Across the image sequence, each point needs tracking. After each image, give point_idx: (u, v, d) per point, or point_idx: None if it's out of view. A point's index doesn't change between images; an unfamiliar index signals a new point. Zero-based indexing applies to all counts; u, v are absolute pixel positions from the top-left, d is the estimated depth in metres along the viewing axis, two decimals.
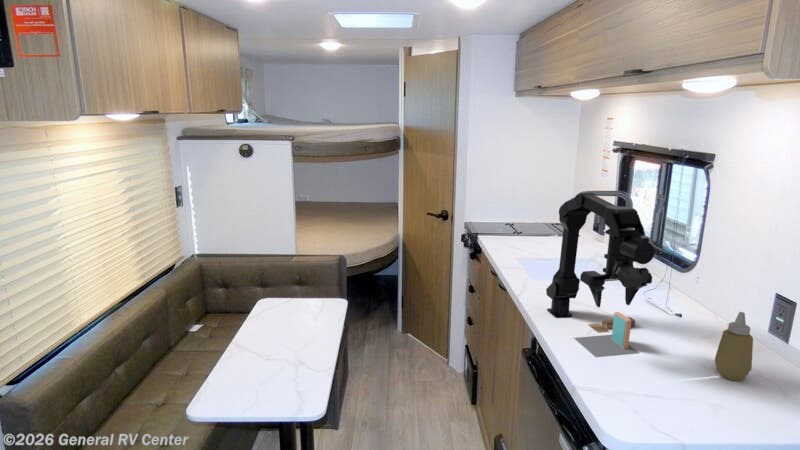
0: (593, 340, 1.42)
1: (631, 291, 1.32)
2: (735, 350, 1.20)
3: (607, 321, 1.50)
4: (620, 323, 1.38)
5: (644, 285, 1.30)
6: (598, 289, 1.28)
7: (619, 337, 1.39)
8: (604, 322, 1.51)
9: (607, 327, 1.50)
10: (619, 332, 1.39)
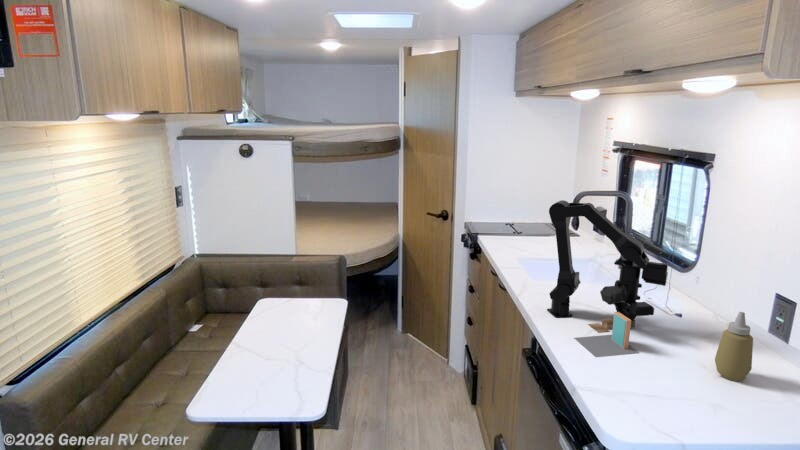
0: (593, 340, 1.42)
1: None
2: (735, 350, 1.20)
3: (607, 321, 1.50)
4: (620, 323, 1.38)
5: (625, 310, 1.47)
6: None
7: (619, 337, 1.39)
8: (604, 322, 1.51)
9: (607, 327, 1.50)
10: (619, 332, 1.39)
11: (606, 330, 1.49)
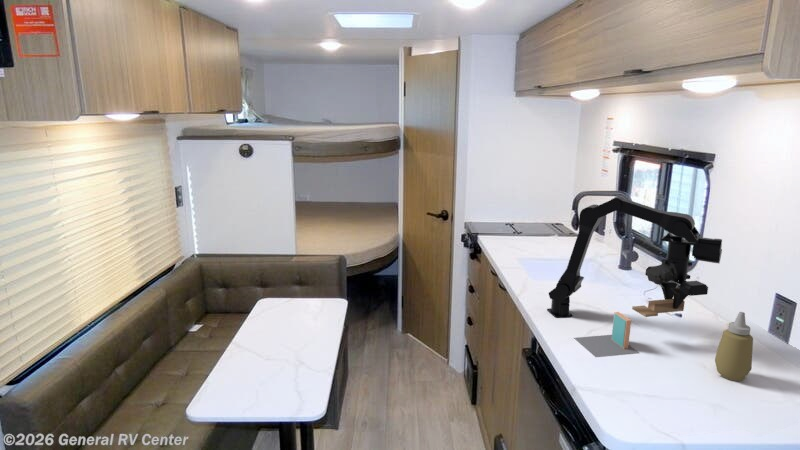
0: (593, 340, 1.42)
1: None
2: (735, 350, 1.20)
3: (654, 302, 1.39)
4: (620, 323, 1.38)
5: (674, 290, 1.35)
6: None
7: (619, 337, 1.39)
8: (651, 303, 1.39)
9: (655, 309, 1.38)
10: (619, 332, 1.39)
11: (654, 312, 1.37)
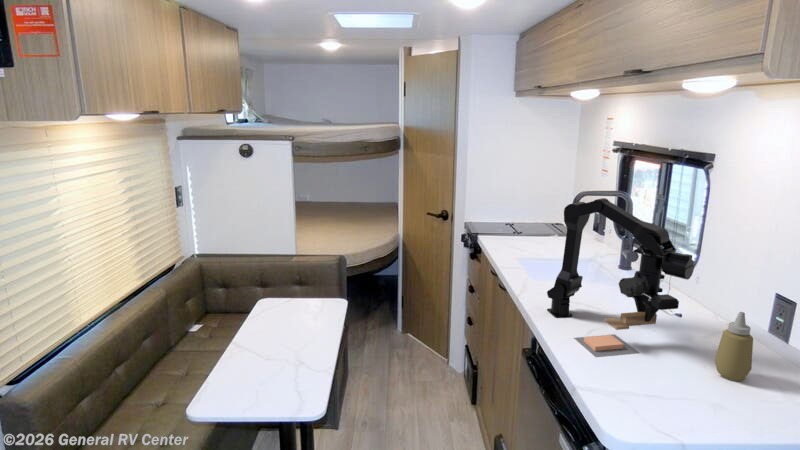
0: None
1: None
2: (735, 350, 1.20)
3: (626, 315, 1.38)
4: None
5: (646, 303, 1.34)
6: None
7: None
8: (623, 316, 1.39)
9: (626, 321, 1.38)
10: None
11: (625, 325, 1.36)
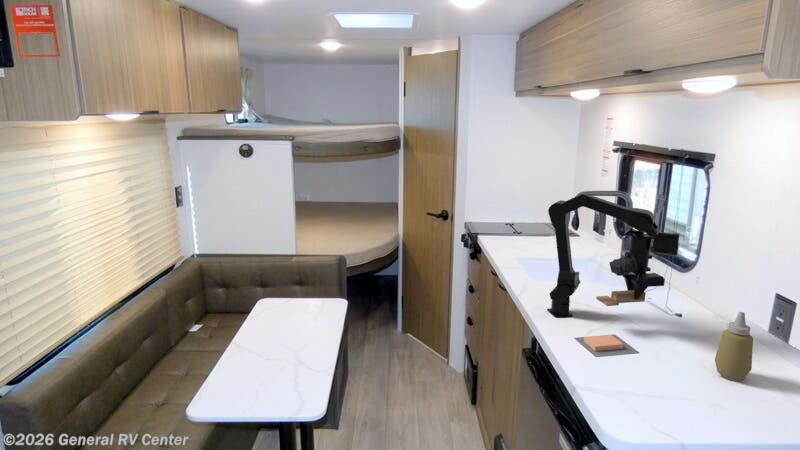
0: None
1: None
2: (735, 350, 1.20)
3: (616, 293, 1.47)
4: None
5: (634, 281, 1.44)
6: None
7: None
8: (613, 294, 1.48)
9: (616, 299, 1.47)
10: None
11: (615, 302, 1.46)
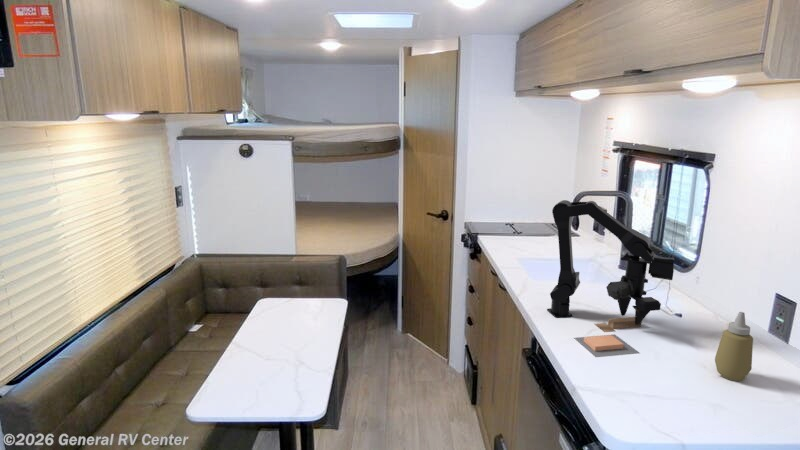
0: None
1: None
2: (735, 350, 1.20)
3: (613, 320, 1.51)
4: None
5: (635, 308, 1.45)
6: None
7: None
8: (610, 321, 1.51)
9: (613, 326, 1.50)
10: None
11: (612, 330, 1.49)
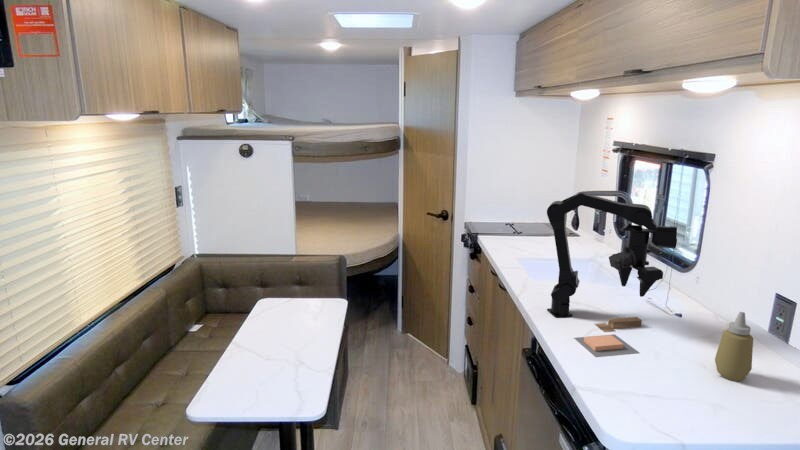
0: None
1: None
2: (735, 350, 1.20)
3: (613, 320, 1.51)
4: None
5: (640, 279, 1.43)
6: None
7: None
8: (610, 321, 1.51)
9: (613, 326, 1.50)
10: None
11: (612, 330, 1.49)
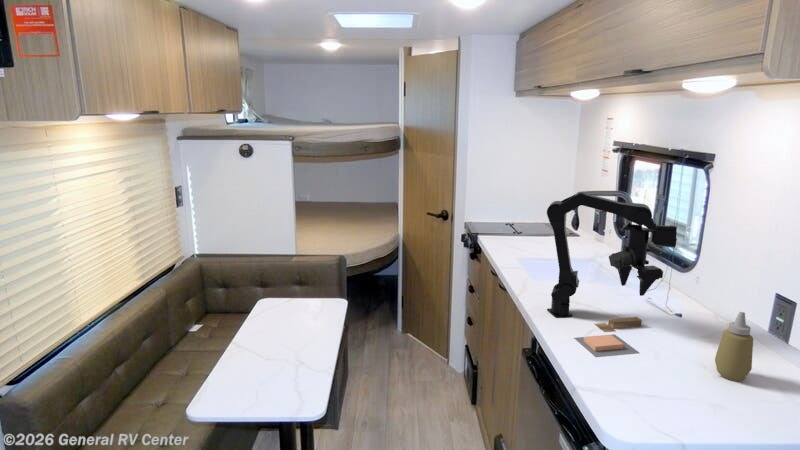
0: None
1: None
2: (736, 350, 1.20)
3: (613, 320, 1.51)
4: None
5: (640, 278, 1.44)
6: None
7: None
8: (610, 321, 1.51)
9: (613, 326, 1.50)
10: None
11: (612, 330, 1.49)
